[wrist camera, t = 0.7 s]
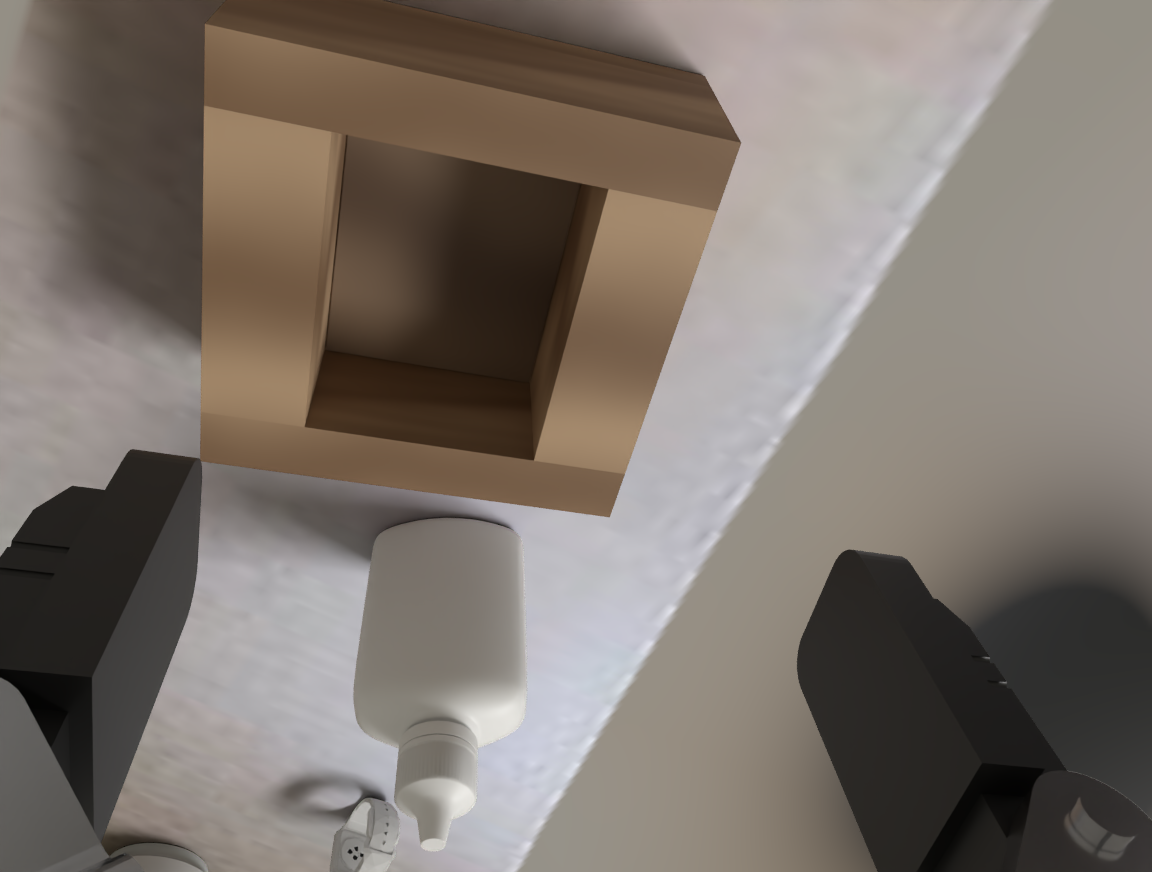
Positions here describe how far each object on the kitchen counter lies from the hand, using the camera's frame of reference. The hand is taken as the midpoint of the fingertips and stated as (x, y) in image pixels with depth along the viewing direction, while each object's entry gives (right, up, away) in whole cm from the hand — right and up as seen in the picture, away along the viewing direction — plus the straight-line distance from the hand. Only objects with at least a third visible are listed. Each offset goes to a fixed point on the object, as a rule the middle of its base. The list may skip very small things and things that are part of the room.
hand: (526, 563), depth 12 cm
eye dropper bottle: (-4, -3, +25) cm, 25 cm away
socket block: (-3, +8, +17) cm, 19 cm away
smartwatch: (-9, -16, +35) cm, 40 cm away
